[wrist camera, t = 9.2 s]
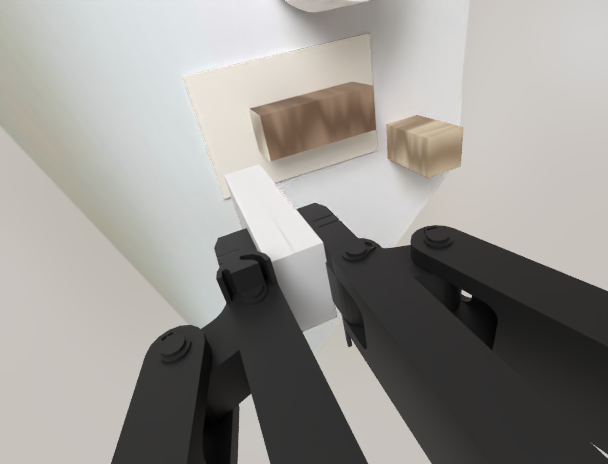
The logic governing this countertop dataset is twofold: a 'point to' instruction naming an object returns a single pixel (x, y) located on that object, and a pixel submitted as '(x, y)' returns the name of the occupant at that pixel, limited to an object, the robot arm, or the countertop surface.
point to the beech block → (425, 145)
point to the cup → (322, 4)
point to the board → (270, 88)
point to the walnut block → (313, 119)
